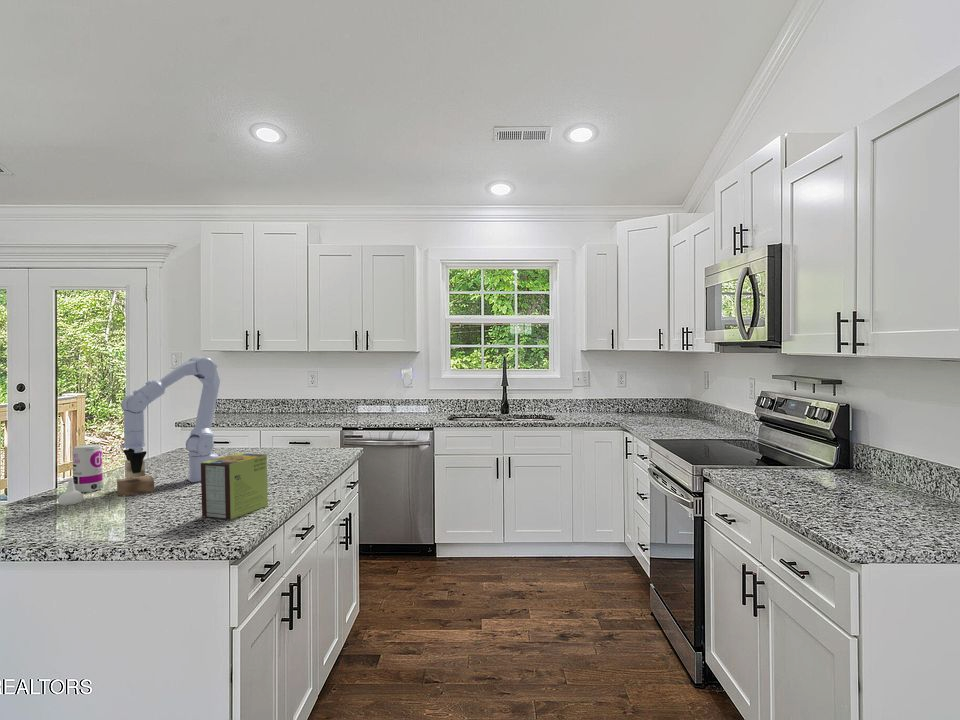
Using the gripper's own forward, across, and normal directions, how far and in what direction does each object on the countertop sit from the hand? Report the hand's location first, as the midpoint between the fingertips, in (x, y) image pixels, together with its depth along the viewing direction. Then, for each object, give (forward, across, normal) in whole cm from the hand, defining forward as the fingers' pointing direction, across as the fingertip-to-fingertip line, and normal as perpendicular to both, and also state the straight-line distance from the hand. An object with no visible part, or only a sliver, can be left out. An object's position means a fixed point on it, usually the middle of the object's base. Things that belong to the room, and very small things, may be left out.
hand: (135, 471), depth 191 cm
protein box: (+7, +48, +18) cm, 52 cm away
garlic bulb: (+7, +4, -18) cm, 20 cm away
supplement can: (+7, -12, -12) cm, 18 cm away
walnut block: (+7, 0, 0) cm, 7 cm away
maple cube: (+1, 0, 0) cm, 1 cm away
